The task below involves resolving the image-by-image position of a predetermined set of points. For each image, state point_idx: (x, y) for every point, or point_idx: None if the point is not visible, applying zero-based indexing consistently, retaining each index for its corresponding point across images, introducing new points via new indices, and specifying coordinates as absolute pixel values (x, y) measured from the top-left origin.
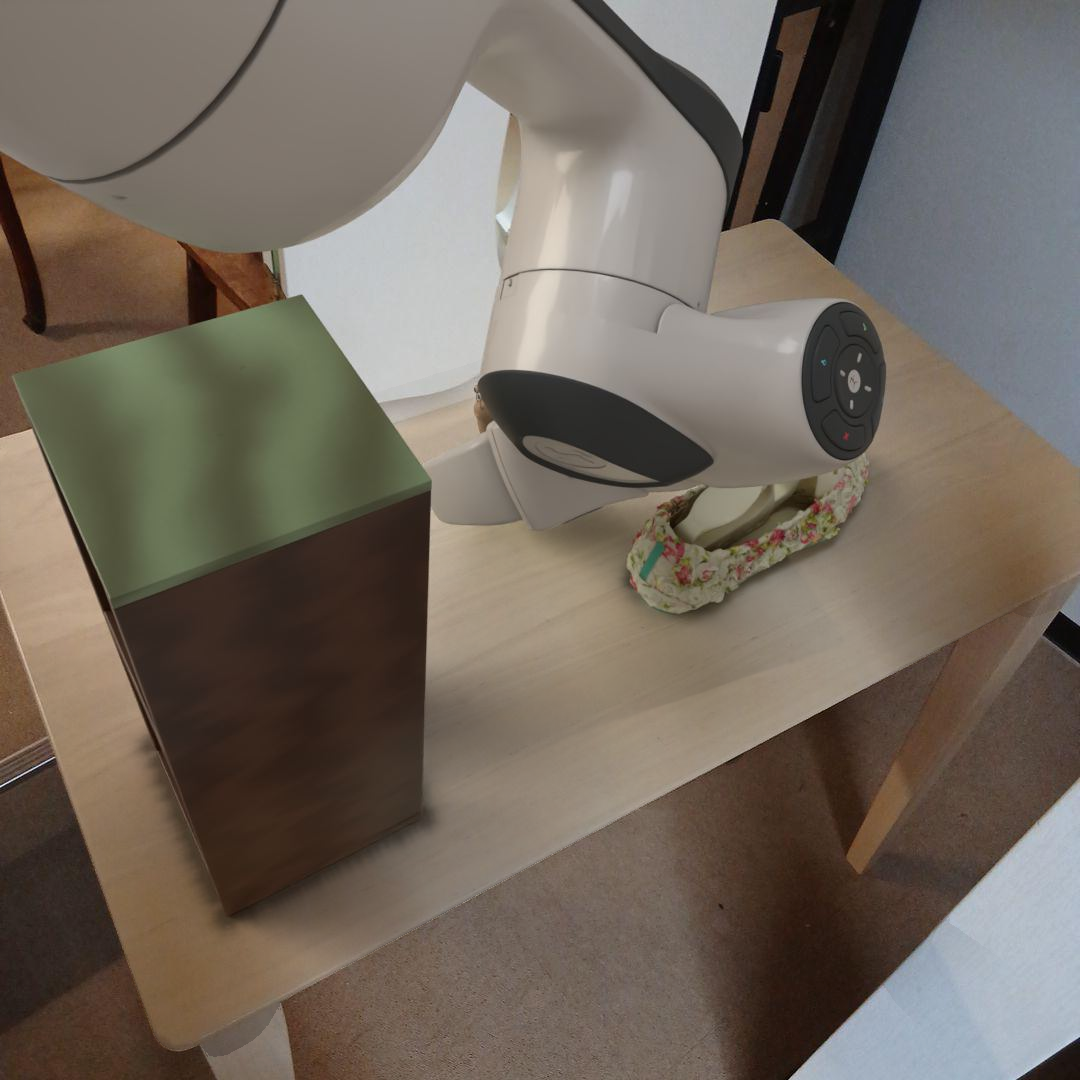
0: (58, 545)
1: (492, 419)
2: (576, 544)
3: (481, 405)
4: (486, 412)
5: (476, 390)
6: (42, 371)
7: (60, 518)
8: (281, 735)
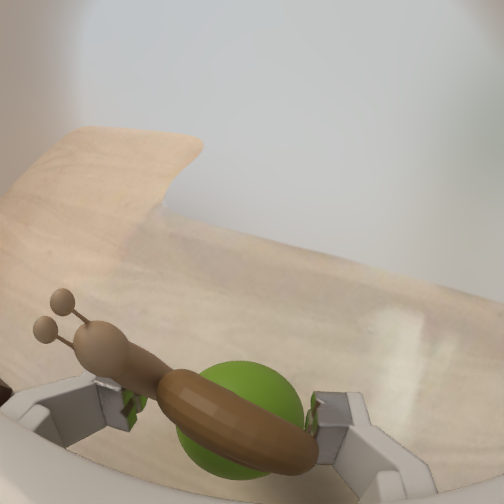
0: (26, 187)
1: (119, 379)
2: (275, 495)
3: (75, 342)
4: (81, 364)
5: (50, 304)
6: None
7: (42, 172)
8: None
